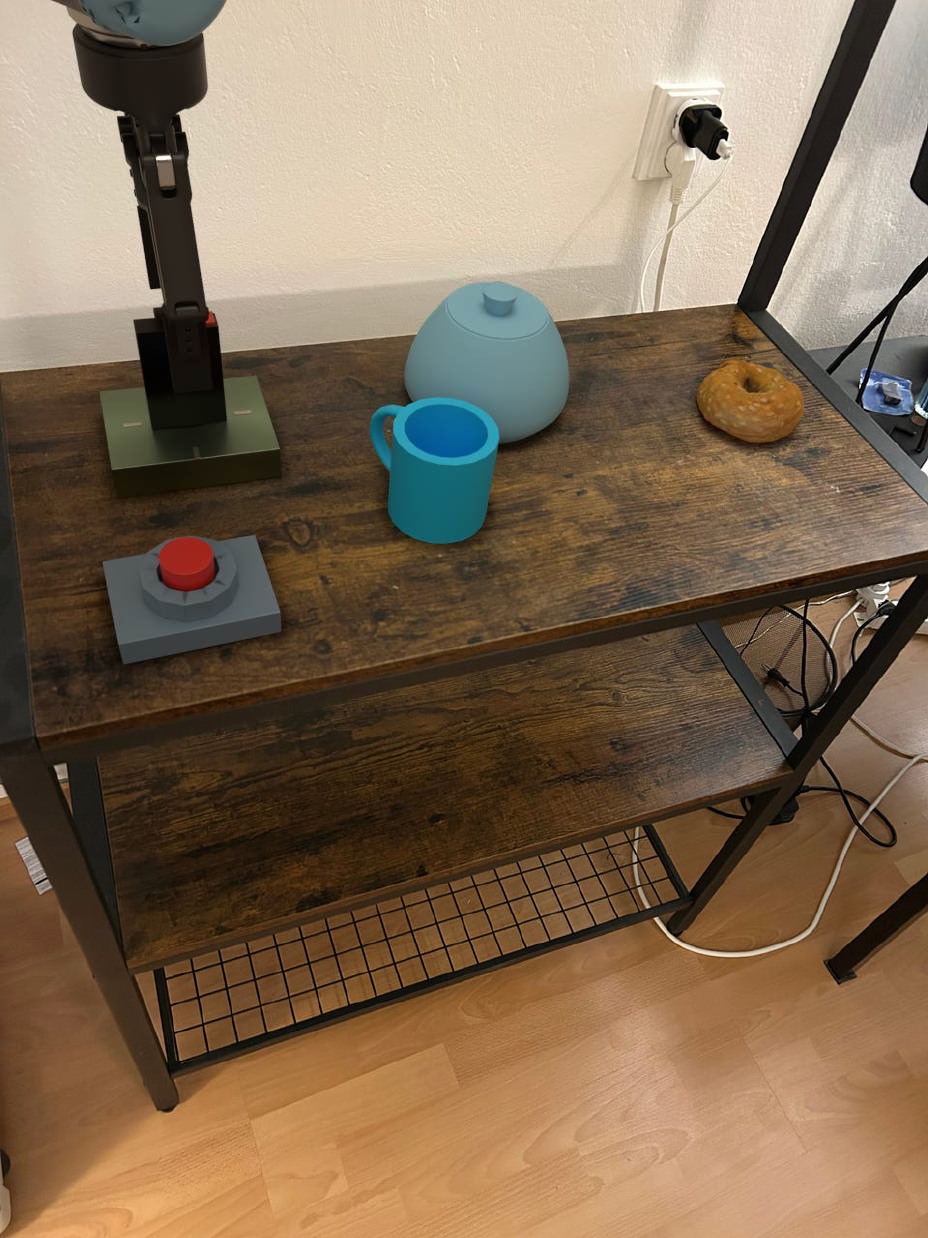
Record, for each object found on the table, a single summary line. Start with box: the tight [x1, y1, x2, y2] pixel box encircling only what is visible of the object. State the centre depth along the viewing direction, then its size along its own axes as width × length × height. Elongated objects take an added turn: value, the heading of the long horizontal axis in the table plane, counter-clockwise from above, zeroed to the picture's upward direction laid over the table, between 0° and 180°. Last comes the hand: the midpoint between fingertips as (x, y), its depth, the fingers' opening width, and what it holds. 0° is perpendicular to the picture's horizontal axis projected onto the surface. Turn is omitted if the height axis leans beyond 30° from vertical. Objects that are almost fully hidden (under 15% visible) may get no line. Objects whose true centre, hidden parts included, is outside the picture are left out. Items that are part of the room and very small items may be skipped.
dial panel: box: [98, 375, 282, 499], centre depth 80 cm, size 13×10×3 cm
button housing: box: [101, 534, 283, 665], centre depth 69 cm, size 11×8×4 cm
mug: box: [369, 397, 499, 545], centre depth 78 cm, size 12×8×8 cm
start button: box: [159, 536, 215, 592], centre depth 67 cm, size 4×4×2 cm
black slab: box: [132, 310, 227, 430], centre depth 76 cm, size 6×2×9 cm, turn 109°
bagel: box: [696, 358, 805, 444], centre depth 92 cm, size 10×11×5 cm
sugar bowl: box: [403, 280, 570, 445], centre depth 86 cm, size 15×15×12 cm
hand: (179, 334), depth 73 cm, fingers open, 13 cm apart
